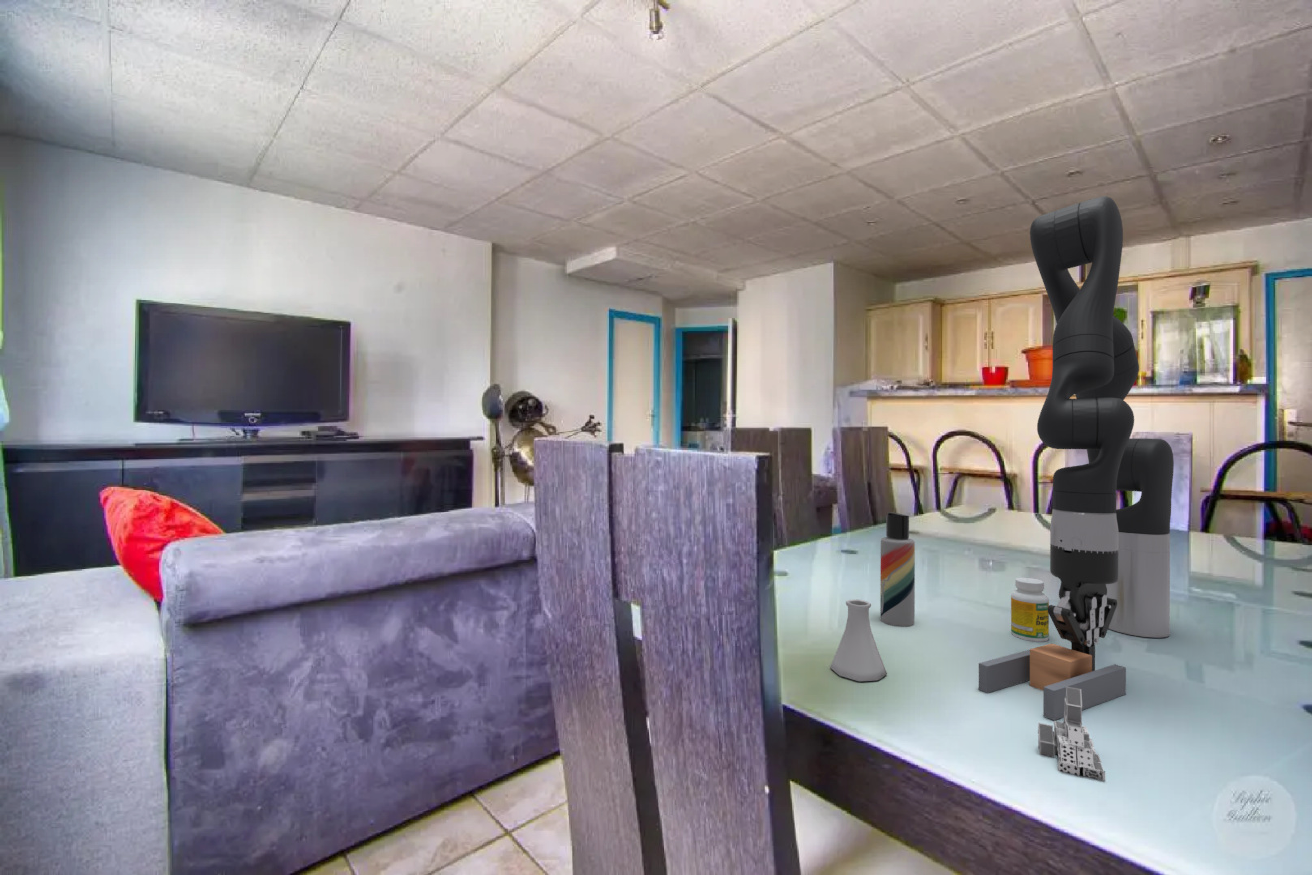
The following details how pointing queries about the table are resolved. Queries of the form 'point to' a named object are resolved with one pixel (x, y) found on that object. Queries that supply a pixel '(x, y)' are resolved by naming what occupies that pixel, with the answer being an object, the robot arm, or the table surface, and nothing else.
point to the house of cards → (1071, 740)
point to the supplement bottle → (1030, 610)
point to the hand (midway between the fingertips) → (1082, 670)
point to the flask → (858, 647)
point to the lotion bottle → (897, 573)
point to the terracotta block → (1056, 665)
